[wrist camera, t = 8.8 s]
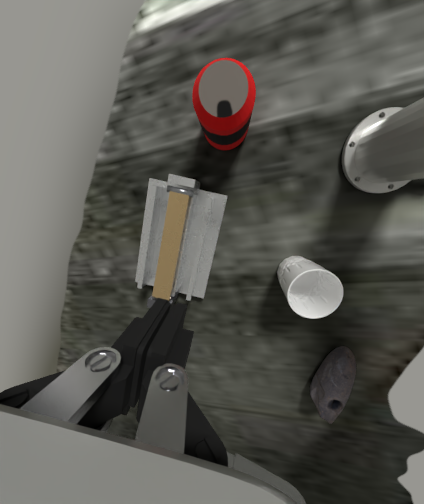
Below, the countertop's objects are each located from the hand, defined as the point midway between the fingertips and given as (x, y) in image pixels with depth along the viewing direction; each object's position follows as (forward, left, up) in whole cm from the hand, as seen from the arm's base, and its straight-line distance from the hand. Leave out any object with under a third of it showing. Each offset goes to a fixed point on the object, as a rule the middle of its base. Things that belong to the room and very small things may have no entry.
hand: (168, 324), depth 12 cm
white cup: (-17, +3, -29) cm, 34 cm away
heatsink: (+6, +2, -29) cm, 30 cm away
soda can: (+2, -19, -29) cm, 35 cm away
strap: (+6, +2, -22) cm, 23 cm away
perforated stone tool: (-30, +22, -29) cm, 47 cm away
